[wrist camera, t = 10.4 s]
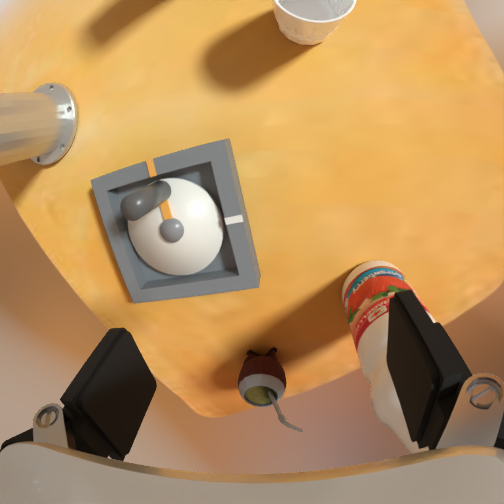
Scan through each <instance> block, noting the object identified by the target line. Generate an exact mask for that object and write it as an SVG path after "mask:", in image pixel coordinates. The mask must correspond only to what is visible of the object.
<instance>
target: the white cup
mask: <svg viewBox="0 0 504 504" xmlns="http://www.w3.org/2000/svg"><path fill="white" fill-rule="evenodd" d="M355 3H356V0H272V5H273V10H274V14H275V18H276V20H277V23H278V26H279V29H280V31H281V32H282V33H283V34H284V35H285V36H286V37H287V38H288V39H289V40H291V41H294V42H296V43H298V44H303V45H315V44H318V43H320V42H324V41H325V40H326V39H327V38H328V37H329V36H330V35H331V34H332V33H333V32H334V31H335V30H336V29H337V28H338V27H339V26H340V25H341V23H342V22H343V21H344V19H345V18H346V17H347V15H348V14H349V13H350V12H351V11H352V9H353V8H354V6H355Z"/></svg>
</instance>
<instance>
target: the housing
mask: <svg viewBox="0 0 504 504" xmlns="http://www.w3.org/2000/svg"><path fill="white" fill-rule="evenodd" d="M169 177H178V178H184V179H188V180H191V181H194V182H195V183H197V184H199V185H201V186H202V187H203V188H205V189H206V190H207V191H208V192H209V193H210V194H211V195H212V196H213V197H214V199H215V200H216V202H217V203H218V205H219V207H220V209H221V212H222V215H223V219H224V229H225V230H224V238H223V242H222V245H221V248H220V250H219V252H218V253H217V255H216V257H215V258H214V260H213V261H212V262H211V263H210V264H209V265H208V266H207V267H205V268H204V269H202V270H200V271H199V272H196V273H193V274H189V275H171V274H167V273H163V272H161V271H159V270H157V269H155V268H153V267H152V266H150V265H149V264H148V263H147V262H145V261H144V260H143V259H142V258H141V256H140V255H139V254H138V252H137V251H136V250H135V248H134V246H133V244H132V241H131V239H130V235H129V231H128V220H127V219H126V218H125V217H124V216H123V215H122V213H121V210H120V204H121V201H122V199H123V198H124V197H125V196H127V195H129V194H131V193H133V192H135V191H137V190H139V189H141V188H143V187H145V186H147V185H149V184H151V183H153V182H155V181H157V180H160V179H163V178H169ZM90 181H91V184H92V188H93V191H94V195H95V198H96V201H97V205H98V208H99V211H100V214H101V217H102V220H103V223H104V226H105V229H106V232H107V235H108V238H109V241H110V244H111V247H112V249H113V252H114V255H115V258H116V260H117V263H118V266H119V268H120V271H121V273H122V276H123V278H124V281H125V283H126V286H127V288H128V291H129V293H130V296H131V298H132V300H133V303H142V302H151V301H160V300H169V299H177V298H185V297H193V296H201V295H209V294H216V293H224V292H231V291H238V290H245V289H252V288H259V283H260V276H261V274H260V269H259V265H258V261H257V256H256V252H255V247H254V243H253V239H252V234H251V230H250V225H249V221H248V217H247V212H246V208H245V204H244V199H243V195H242V190H241V186H240V182H239V177H238V173H237V169H236V164H235V160H234V156H233V151H232V147H231V143H230V139H224V140H220V141H216V142H212V143H208V144H204V145H200V146H196V147H192V148H189V149H185V150H181V151H178V152H174V153H171V154H167V155H164V156H161V157H157V158H154V159H151V160H148V161H144V162H141V163H138V164H135V165H132V166H129V167H126V168H123V169H120V170H117V171H114V172H112V173H109V174H106V175H103V176H101V177H98V178H95V179H92V180H90Z"/></svg>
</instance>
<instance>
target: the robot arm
mask: <svg viewBox="0 0 504 504" xmlns="http://www.w3.org/2000/svg"><path fill="white" fill-rule="evenodd" d="M77 124H78V111H77V104H76V101H75V98H74V96H73V95H72V93H71V91H70V90H69V89H68V88H67V87H65V86H64V85H62V84H58V83H47V84H44V85H42V86H40V87H39V88H37V89H36V90H35V91H34V92H33V93H0V166H4V165H7V164H11V163H15V162H18V161H22V160H26V159H30V160H32V161H33V162H35V163H36V164H40V165H48V164H51V163H54V162H56V161H58V160H60V159H61V158H62V157H63V156H64V155H65V154H66V153H67V151H68V150H69V148H70V146H71V145H72V142H73V140H74V138H75V134H76V130H77ZM386 361H387V367H388V370H389V372H390V375H391V378H392V381H393V384H394V387H395V390H396V393H397V396H398V399H399V402H400V405H401V409H402V412H403V415H404V418H405V422H406V425H407V428H408V432H409V435H410V438H411V441H412V442H416V441H417V444H418V448H419V449H421V448H425V447H428V448H429V450H428V451H423V452H418V453H414V454H410V455H405V456H400V457H395V458H391V459H387V460H382V461H376V462H371V463H366V464H360V465H354V466H348V467H341V468H334V469H326V470H317V471H308V472H297V473H280V474H216V473H201V472H189V471H179V470H171V469H163V468H156V467H150V466H144V465H138V464H133V463H127V462H122V461H123V460H124V458H125V455H126V454H128V453H129V452H130V449H131V447H132V445H133V442H134V440H135V437H136V435H137V433H138V430H139V428H140V425H141V423H142V421H143V418H144V416H145V413H146V411H147V409H148V406H149V404H150V402H151V400H152V397H153V395H154V393H155V390H156V387H157V385H156V381H155V379H154V377H153V375H152V373H151V371H150V370H149V368H148V366H147V364H146V362H145V360H144V358H143V357H142V355H141V353H140V351H139V349H138V347H137V345H136V343H135V341H134V339H133V337H132V335H131V333H130V332H128V331H127V330H126V329H125V328H112V329H110V330H109V331H108V332H107V333H106V335H105V336H104V337H103V339H102V340H101V342H100V343H99V344H98V346H97V347H96V348H95V350H94V351H93V352H92V354H91V355H90V357H89V358H88V359H87V361H86V362H85V364H84V365H83V366H82V368H81V369H80V371H79V372H78V374H77V375H76V377H75V378H74V379H73V381H72V382H71V384H70V385H69V387H68V388H67V390H66V391H65V393H64V394H63V396H62V397H61V399H60V400H61V402H62V403H63V404H64V405H65V406H64V408H63V409H62V407H61V406H60V405H58V404H54V403H53V404H52V403H51V404H48V405H45V406H44V407H42V408H41V409H40V410H39V411H38V412H37V413H36V414H35V416H34V419H33V428H31V429H29V430H27V431H25V432H23V433H21V434H19V435H17V436H15V437H12V438H11V439H9V440H6V441H5V442H4V443H3V444H2V446H1V449H0V504H504V383H503V381H502V380H501V379H499V378H498V377H497V376H495V375H492V374H488V373H480V374H475V375H473V376H472V374H471V372H470V370H469V369H468V367H467V365H466V364H465V362H464V360H463V358H462V357H461V355H460V354H459V352H458V350H457V349H456V347H455V346H454V344H453V342H452V341H451V339H450V337H449V336H448V334H447V333H446V331H445V330H444V328H443V327H442V325H441V324H440V323H438V322H436V323H433V321H432V319H431V318H430V316H429V315H428V313H427V312H426V310H425V309H424V307H423V306H422V304H421V303H420V301H419V300H418V298H417V297H416V295H415V294H414V292H413V291H412V290H411V289H409V290H404V291H400V292H395V293H394V297H392V298H390V299H389V320H388V340H387V354H386ZM108 455H109V456H110V457H111V458H112V459H109V458H107V457H108ZM113 459H115V460H113ZM118 460H119V461H118Z"/></svg>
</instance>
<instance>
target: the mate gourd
mask: <svg viewBox="0 0 504 504" xmlns="http://www.w3.org/2000/svg"><path fill="white" fill-rule="evenodd" d="M276 352H277V349H276V348H275V347H273V348H272V349H271V350H270V351H269V352H268V353H267V354H266V355H265V356H261V355H259V354H257V353H255V352H253V351H251V350H248V351H247V355H248V356H247V358H246V359H245V361H244V364H243V367H242V369H241V372H240V375H239V379H238V387H239V388H238V389H239V392H240V395H241V396H242V398H243V399H244V400H245V401H246V402H247V403H249V404H251V405H253V406H258V407H267V406H270V405H274V407H275V409H276V412H277V414H278V416H279V417H278V418H279V420H280V422H281V423H283V424H284V425H286V426H287V427H289V428H292V429H294V430H297V431H300V432H302V429H300V428H298V427H296V426H293V425H291V424H290V423H288V422H287V421H286V418H285V417H284V415H282V413H281V410H280V408H279V406H278V404H277V401H278V400H280V399H281V398H282V396H283V394H284V391H285V388H286V377H285V372H284V370H283V368H282V366H281V365H280V364H279V362H278V361H277V358H276V354H275V353H276Z"/></svg>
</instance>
